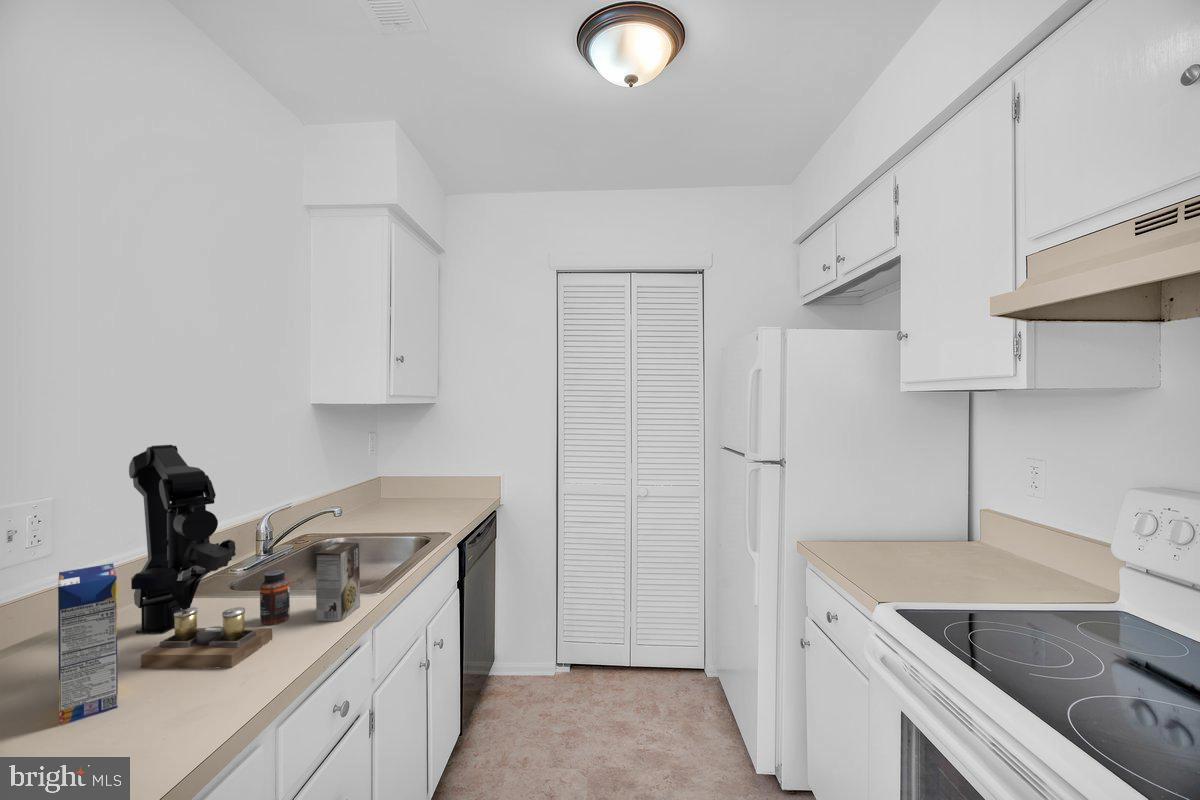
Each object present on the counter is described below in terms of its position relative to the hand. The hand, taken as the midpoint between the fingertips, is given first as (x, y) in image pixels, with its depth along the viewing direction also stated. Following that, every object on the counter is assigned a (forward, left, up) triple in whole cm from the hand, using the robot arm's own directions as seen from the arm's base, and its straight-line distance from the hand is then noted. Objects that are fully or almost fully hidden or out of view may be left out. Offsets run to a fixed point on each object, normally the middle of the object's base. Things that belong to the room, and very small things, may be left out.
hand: (185, 608), depth 107 cm
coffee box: (+21, +20, -9) cm, 30 cm away
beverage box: (-2, -18, -9) cm, 20 cm away
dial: (+5, 0, -6) cm, 8 cm away
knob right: (+10, 0, -6) cm, 12 cm away
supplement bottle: (+8, +16, -9) cm, 20 cm away
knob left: (0, 0, -6) cm, 6 cm away
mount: (+5, 0, -9) cm, 10 cm away
